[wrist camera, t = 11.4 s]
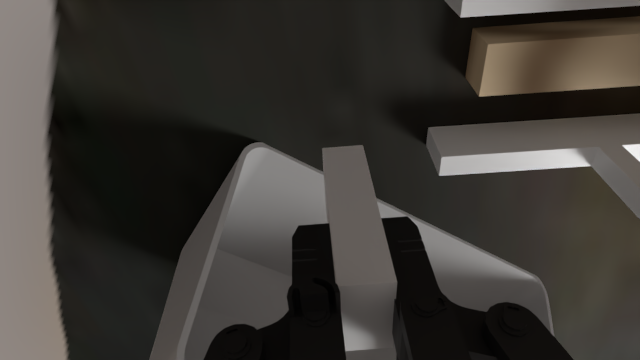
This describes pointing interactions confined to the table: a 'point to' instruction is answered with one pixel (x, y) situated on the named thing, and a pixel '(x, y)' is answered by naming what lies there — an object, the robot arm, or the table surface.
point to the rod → (554, 56)
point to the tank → (276, 259)
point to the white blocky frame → (543, 126)
